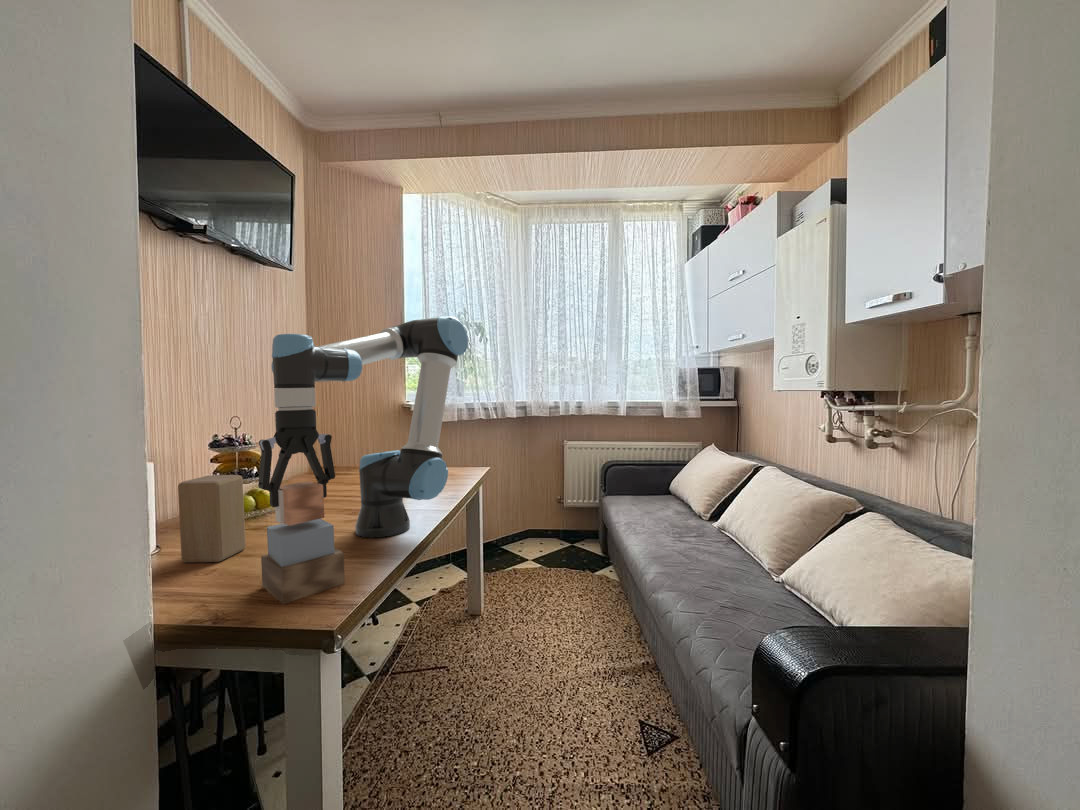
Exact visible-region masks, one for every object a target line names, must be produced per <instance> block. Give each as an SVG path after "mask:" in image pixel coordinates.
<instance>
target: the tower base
mask: <svg viewBox="0 0 1080 810" xmlns="http://www.w3.org/2000/svg"><path fill="white" fill-rule="evenodd" d="M334 549H335V553H334V554H330V555H326V556H323V557H319V558H315V559H311V560H307V561H304V562H300V563H296V564H292V565H288V566H285V567H281V566H280V565H279V564H278V563H277V562H276V561H274V560H273V559H272V558H271V557H270V556H269V555H268V553H266V554H264V555H262V554H261V556H260V557H261V558H260V561H261V562H260V563H261V564H260V565H261V583H262V587H263V589H264V588H265V589H266V590H267V591H268V592H267V591H266V590H265V589H264V590H265V591H266V592H267V593H268V594H270V593H271V594H272V595H273V597H274V598H275V600H277V601H278V600H279V603H281V604H282V605H286V604H289V603H292V602H295V601H297V599H298V600H301V599H303V597H304V598H306V597H310V596H312V594H313V595H316V594H319V593H321V592H325V591H328V590H330V588H331V589H333V587H334V588H337V587H339V586H343V585H345V583H346V582H345V558H344V556H345V555H344V551H342V550H340V549H337V548H335V547H334ZM271 594H270V595H271ZM272 595H271V596H272ZM309 595H310V596H309ZM300 598H301V599H300ZM294 600H295V601H294ZM291 601H292V602H291Z"/></svg>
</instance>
